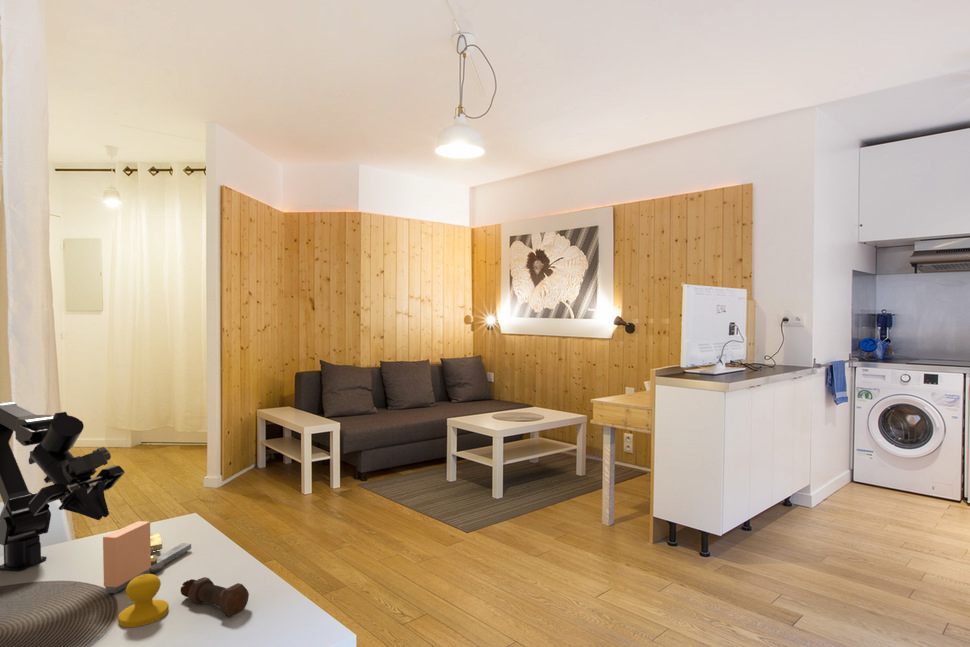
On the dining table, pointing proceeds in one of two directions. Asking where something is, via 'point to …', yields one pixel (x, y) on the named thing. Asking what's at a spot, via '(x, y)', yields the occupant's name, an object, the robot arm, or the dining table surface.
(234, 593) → the bolt
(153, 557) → the pintle
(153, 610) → the doorknob
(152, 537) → the keeper
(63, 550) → the dining table surface
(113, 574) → the peach block with bar
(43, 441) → the robot arm
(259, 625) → the dining table surface
